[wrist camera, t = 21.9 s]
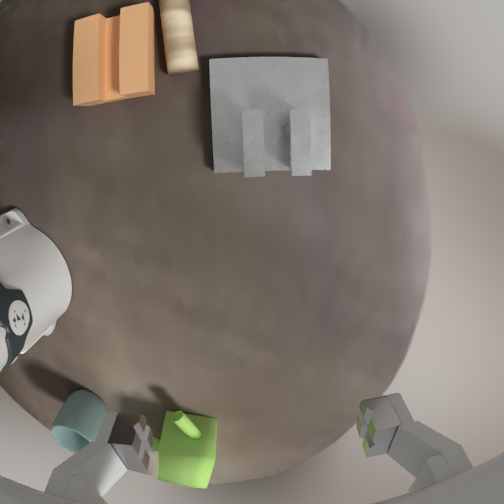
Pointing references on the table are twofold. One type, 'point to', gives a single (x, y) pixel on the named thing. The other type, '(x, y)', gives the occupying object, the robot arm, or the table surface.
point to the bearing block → (270, 115)
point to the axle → (178, 36)
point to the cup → (78, 420)
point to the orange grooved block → (114, 56)
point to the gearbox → (186, 449)
